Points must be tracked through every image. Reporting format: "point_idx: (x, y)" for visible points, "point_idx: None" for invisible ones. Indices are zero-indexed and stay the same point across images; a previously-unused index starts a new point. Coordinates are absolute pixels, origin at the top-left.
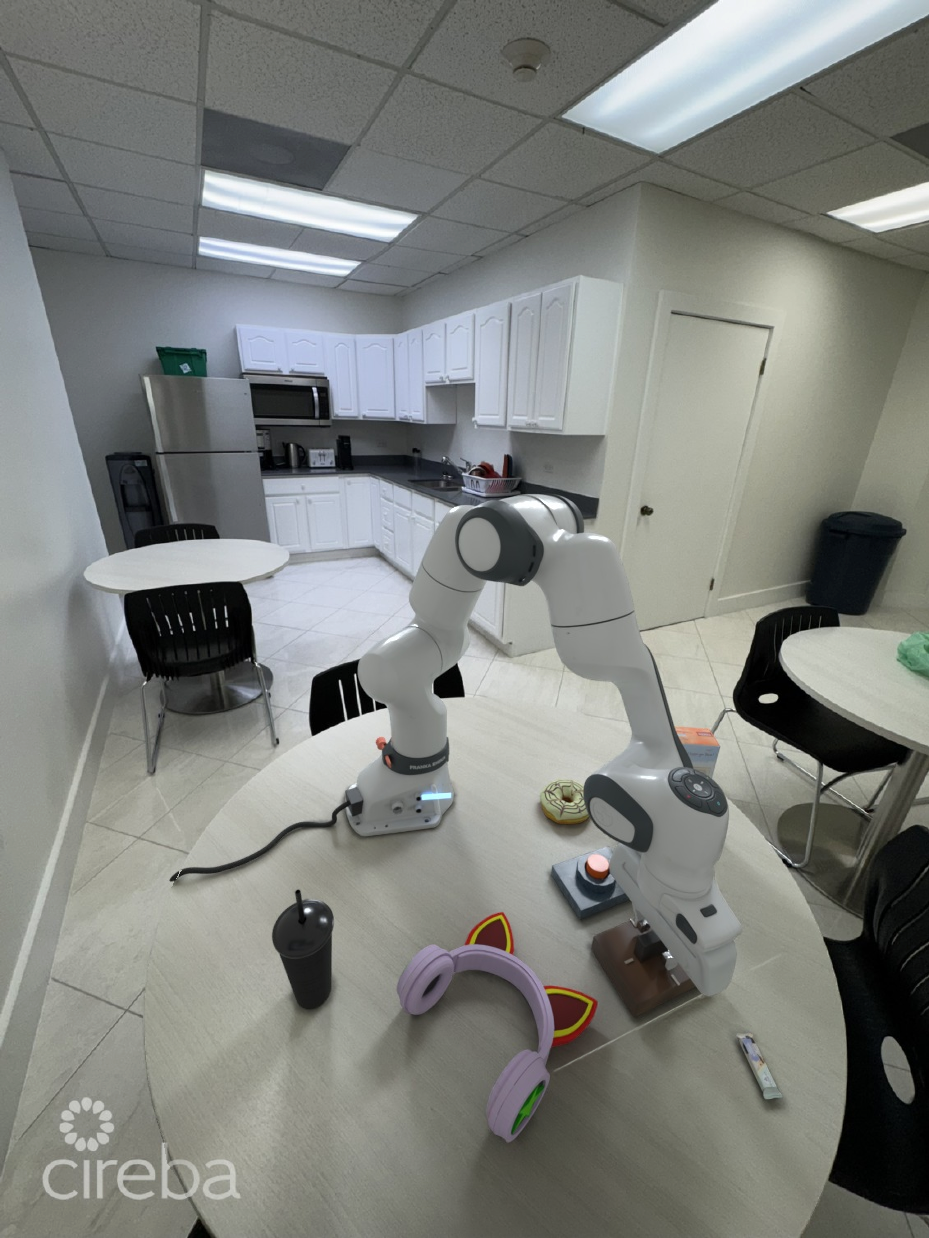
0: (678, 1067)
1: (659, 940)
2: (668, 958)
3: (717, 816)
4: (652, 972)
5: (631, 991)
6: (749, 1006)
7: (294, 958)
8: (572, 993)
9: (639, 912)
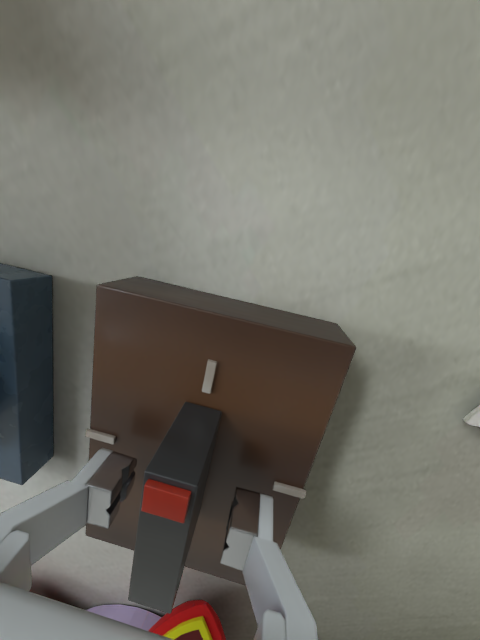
0: (378, 541)
1: (181, 565)
2: (250, 596)
3: None
4: None
5: (235, 580)
6: (458, 303)
7: None
8: (167, 637)
9: (48, 542)
